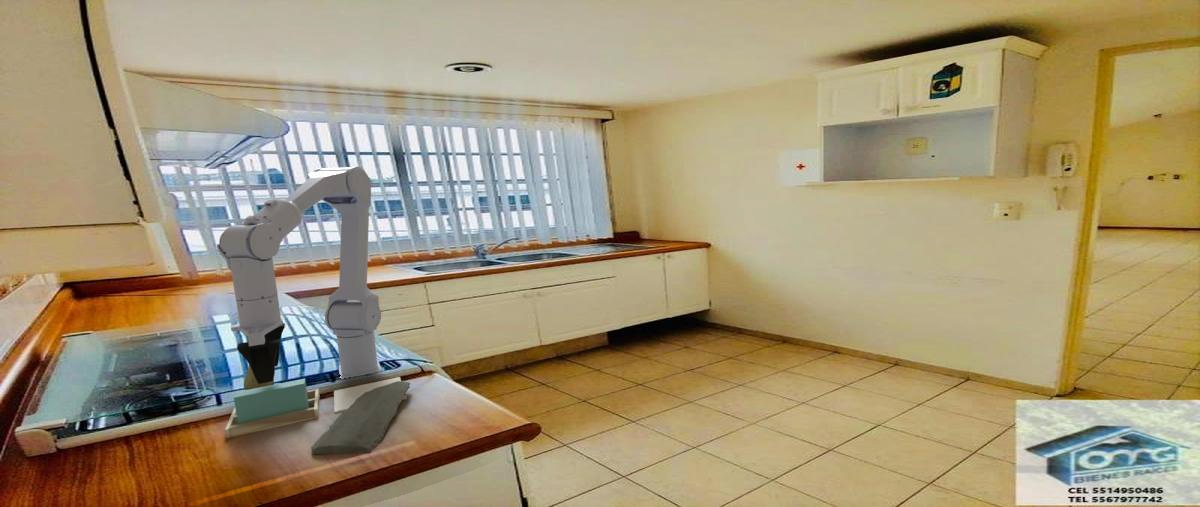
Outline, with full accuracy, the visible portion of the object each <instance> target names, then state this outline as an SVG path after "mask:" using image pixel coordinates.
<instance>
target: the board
mask: <svg viewBox="0 0 1200 507" xmlns="http://www.w3.org/2000/svg"><path fill="white" fill-rule="evenodd" d="M307 391H308V390H307V384H306V378H302V379H301V378H300V379H296V380H291V381H286V382H282V383H281V382H280V383H276V384H275V383H274V385H270V386H265V387H260V388H254V389H249V390H245V389H243V390H240V391H236V392H235V393H234V396H233V400H234V401H233V403H234V408H235V409H236V415H237V421H238V424H241V423H246V422H250V421H255V420H259V419H263V418H268V417H272V416H277V415H281V414H286V413H290V412H295V411H299V410H304V409H308V408H309V403H308V396H307Z"/></svg>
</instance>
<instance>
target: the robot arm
mask: <svg viewBox="0 0 1200 507" xmlns="http://www.w3.org/2000/svg"><path fill="white" fill-rule="evenodd" d="M320 201H323V202H324V203H325V204H327V205H328V206H330V207H331V208H332V209H335V210H336V211H337V212H338V213H339V214H340V215H341V222H340V223H341V225H340V253H339V280H338V281H339V282H338V284H339V285H338V286H339V287H338V288H337V289H336V290H335V291H333V292H332V293H331V294H330V296H328V304H327V308H326V310H325V313H324V322H325V325H326V327H327V328H328V329H329V330H331V331H332V334H333V336H334V335H335V336H336V341H337V342H336V343H337V348H338V357H339V364H338V372H339V373H338V375H339V374H340V375H341V376H340V377H339V376H338V378H341V379H340V380H344V378H346V379H350V378H349V377H351V378H355V376H356V377H361V376H366V375H370V374H374V373H380V372H381V371H382V368H381V365H380V362H379V358H378V356H377V347H376V338H375V331H376V330H377V329H378V326H379V325H380V323H381V320H382V310H381V309H380V308H381V307H380V304H379V295H377V294H376V293H375V292H373V291H372V290H371V289H370V288H368V261H369V257H368V256H369V226H370V224H369V221H370V219H369V218H370V208H371V204H372V203H371V202H372V180H371V178H370V177H369V175H368V173H367V172H366V171H365V169H364V168H363V167H361V166H355V165H354V166H352V167H331V168H330V167H329V168H327V167H326V168H325V167H318V168H316V169H314V170H313V171H312V172H309V173H308V174H307V179H306V180H305V181H304V183H302V184H301V185H299V187H298V188H296V190H295V191H294V192H292V193H291V194H290V195H289V196H288V197H286V198H285V199H280V198H279V199H278V198H277V199H268V200H266V201H265V202H264V203H263V205H264V206H263V207H262V208H261V209H260V210H258V211H257V212H256V213H254V214H253V215H248V216H247V217H245V219H244V220H245V221H243V222H242V223H241V224H240V225H238V224H236V225H232V226H231V225H230V226H229V227H227V228H226V229H225V230H224V231H223V232H222V233H221V235H220V237H219V241H218V242H219V243H217V244H216V249H217V251H218V253H219V254H220V255H221V256H222V258H224V259H225V261H226V266H227V269H229V271H231V278H232V283H233V284H232V285H233V291H234V296H235V297H234V299H235V302H236V310H237V315H238V322H239V323H236V324H232V325H231V327H230V330H231V332H241V333H242V334H244V335H245V336H246V337H247V336H248V341H245V342H240V343H238V344H237V346H236V348H237V351H238V353H239V354H240V355H242V357H243V358H244V359H245V360H246V362H247V363H248V366H249V365H250V367H251V369H252V372H253V374H254V376H255V379H256V381H257V382H258V384H261V383H266V382H271V381H273V380H274V381H275V372H276V367H278V366H279V362H280V349H281V348H280V347H281V346H280V345H281V339H282V335H283V332H284V329H285V327H286V323H285V322H284V321H283V318H282V317H281V311H280V310H281V308H280V302H279V295H278V289H277V282H276V276H275V275H276V274H275V266H274V260H273V257H275V256H277V254H278V253H279V250H280V246H281V243H282V242H283V239H284V238H286V237H287V236H288V235H289V234H291V232H293V231H294V230H295V229H296V228H297V227H298V226H299V225H301V223H302V219H303V216H302V214H303V213H305V212H306V211H308V210H309V209H311V207H313V206H314V205H316V204H317V203H319V202H320ZM355 301H356V302H355Z"/></svg>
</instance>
